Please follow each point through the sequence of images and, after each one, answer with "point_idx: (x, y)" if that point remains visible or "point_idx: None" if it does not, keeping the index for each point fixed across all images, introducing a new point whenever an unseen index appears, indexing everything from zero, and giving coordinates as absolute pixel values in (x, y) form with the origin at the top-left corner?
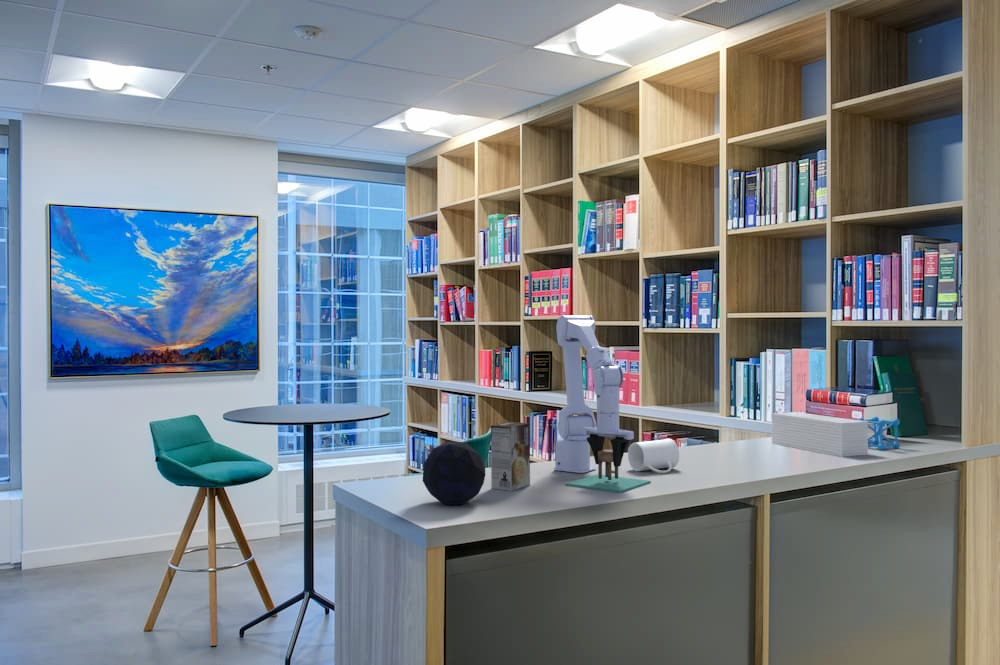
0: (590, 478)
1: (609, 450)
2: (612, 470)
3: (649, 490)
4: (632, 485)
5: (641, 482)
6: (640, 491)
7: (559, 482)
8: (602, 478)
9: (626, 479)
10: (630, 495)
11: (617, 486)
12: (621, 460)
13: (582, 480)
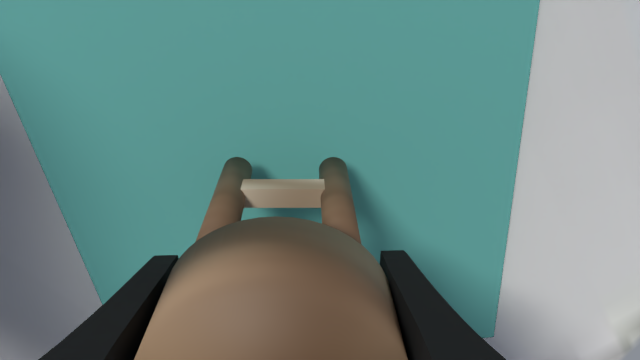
0: (99, 177)
1: (239, 358)
2: (284, 191)
3: (620, 179)
4: (490, 184)
5: (504, 42)
6: (575, 236)
7: (41, 328)
8: (157, 115)
9: (334, 14)
10: (559, 336)
11: (420, 265)
12: (427, 283)
13: (124, 261)
